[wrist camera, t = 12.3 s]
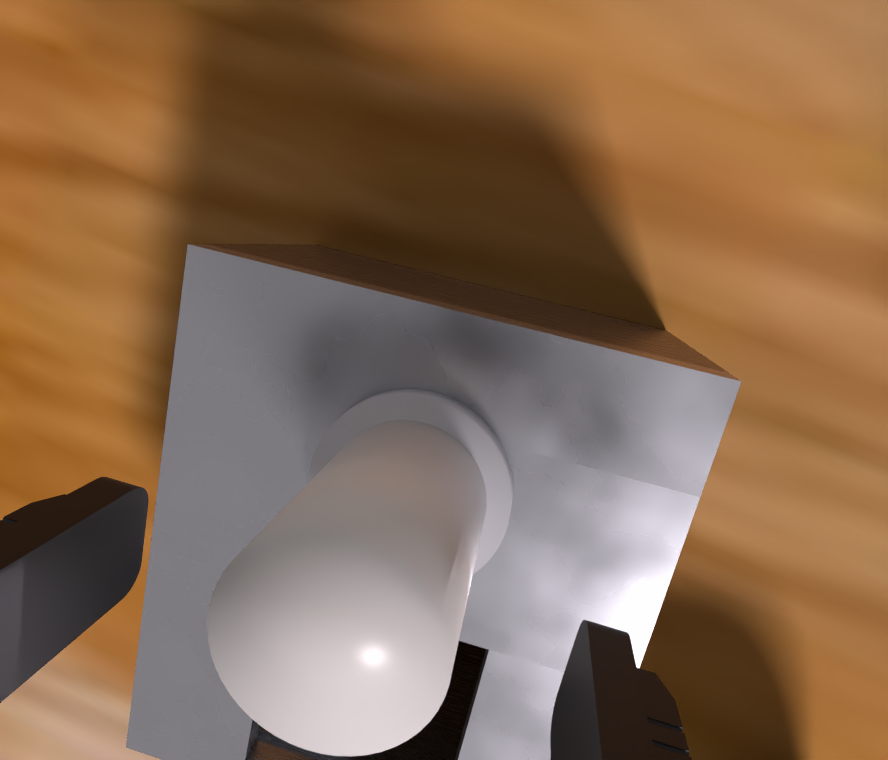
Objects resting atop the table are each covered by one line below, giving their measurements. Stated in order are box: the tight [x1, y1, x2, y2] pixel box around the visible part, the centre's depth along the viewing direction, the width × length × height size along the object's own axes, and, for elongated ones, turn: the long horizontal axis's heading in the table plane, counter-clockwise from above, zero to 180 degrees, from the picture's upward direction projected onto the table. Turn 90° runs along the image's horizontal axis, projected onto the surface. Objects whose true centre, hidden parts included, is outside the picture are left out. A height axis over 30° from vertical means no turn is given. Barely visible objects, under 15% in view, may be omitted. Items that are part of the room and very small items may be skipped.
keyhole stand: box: [126, 244, 741, 760], centre depth 21 cm, size 16×14×9 cm
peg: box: [207, 389, 513, 756], centre depth 15 cm, size 5×5×10 cm
